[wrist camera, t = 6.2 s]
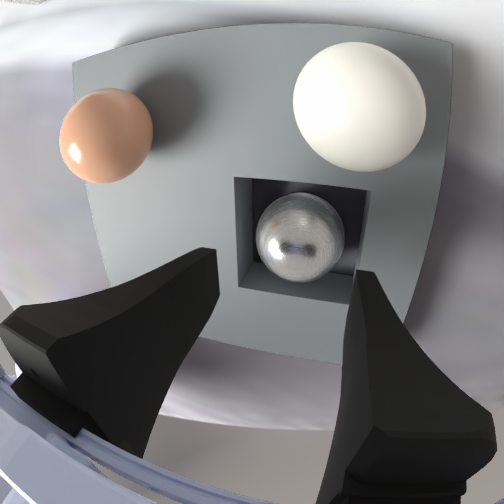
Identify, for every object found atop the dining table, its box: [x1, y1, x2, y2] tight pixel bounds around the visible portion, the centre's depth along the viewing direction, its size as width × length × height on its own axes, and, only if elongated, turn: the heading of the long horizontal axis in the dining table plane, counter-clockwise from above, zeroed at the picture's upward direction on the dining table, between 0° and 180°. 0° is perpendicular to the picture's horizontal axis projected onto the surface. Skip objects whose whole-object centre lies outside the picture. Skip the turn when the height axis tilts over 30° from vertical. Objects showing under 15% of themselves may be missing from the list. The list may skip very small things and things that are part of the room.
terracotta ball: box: [59, 88, 153, 184], centre depth 11 cm, size 4×4×4 cm
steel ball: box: [256, 193, 345, 282], centre depth 14 cm, size 4×4×4 cm
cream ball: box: [293, 42, 426, 172], centre depth 8 cm, size 4×4×4 cm
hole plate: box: [72, 23, 452, 365], centre depth 15 cm, size 17×16×2 cm
